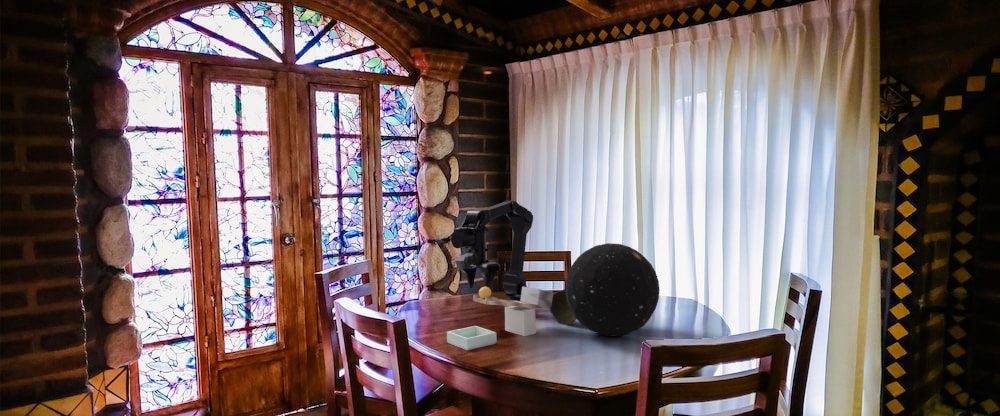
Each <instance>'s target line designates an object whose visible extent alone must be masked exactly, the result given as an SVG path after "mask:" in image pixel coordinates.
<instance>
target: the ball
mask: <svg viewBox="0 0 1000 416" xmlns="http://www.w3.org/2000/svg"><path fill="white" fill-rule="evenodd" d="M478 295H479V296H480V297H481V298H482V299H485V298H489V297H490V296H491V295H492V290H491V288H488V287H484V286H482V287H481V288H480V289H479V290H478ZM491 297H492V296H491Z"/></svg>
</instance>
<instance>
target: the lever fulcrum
mask: <svg viewBox="0 0 1000 416" xmlns="http://www.w3.org/2000/svg"><path fill="white" fill-rule="evenodd" d="M536 329H537V328H536V309H535V308H526V307H515V306H504V330H505V331H506V332H509V333H513V334H516V335H520V336H523V337H527V336H531V335H535V334H536V333H537V332H536Z"/></svg>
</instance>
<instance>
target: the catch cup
mask: <svg viewBox="0 0 1000 416" xmlns="http://www.w3.org/2000/svg"><path fill="white" fill-rule="evenodd" d="M497 339H498V337H497V332H496V331H493V330H490V329H487V328H483V327H481V326H478V325H473V326H472V325H471V326H468V327H463V328H458V329H453V330H450V331H449V330H448V331H446V343H447V344H450V345H451V346H455V347H458V348H460V349H463V350H465V351H471V350H475V349H479V348H483V347H486V346H487V347H488V346H492V345H495V344H496V345H497Z"/></svg>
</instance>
